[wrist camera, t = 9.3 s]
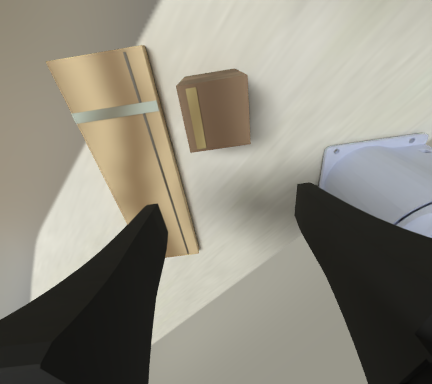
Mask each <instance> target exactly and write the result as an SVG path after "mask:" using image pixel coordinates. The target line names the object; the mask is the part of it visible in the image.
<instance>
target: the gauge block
mask: <svg viewBox="0 0 432 384" xmlns="http://www.w3.org/2000/svg"><path fill="white" fill-rule="evenodd" d="M176 89H177V93H178V98H179V102H180V107H181V111H182V116H183V120H184V125H185V130H186V134H187V139H188V143H189V148H190V152H191V153H192V152H199V151H206V150H213V149H219V148H226V147H233V146H240V145H247V144H251V142H250V121H249V99H248V78H247V75H246V74H244V73H242V72H240V71H239V70H237V69H230V70H223V71H217V72H211V73H205V74H199V75H192V76H186V77H184V78H183V79H182V80H181V82H180V83H179V84H178V85H177V86H176Z"/></svg>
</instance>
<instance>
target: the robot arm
mask: <svg viewBox="0 0 432 384" xmlns="http://www.w3.org/2000/svg"><path fill="white" fill-rule="evenodd" d="M410 139H411V140H410ZM427 140H428V134H425V133H417V134H410V135H403V136H396V137H389V138H382V139H375V140H369V141H362V142H355V143H348V144H341V145H334V146H329V147H327V148H326V149H325V151H324V157H323V163H322V170H321V176H320V182H319V187H318V186H316V185H314V184H312V183H303V184H297V195H296V205H295V218H296V220H297V223H298V225H299V228H300V230H301V233H302V234H303V236H304V238H305V240H306V241H307V243H308V245H309V247H310V249H311V250H312V252H313V254H314V256H315V257H316V259H317V261H318V262H319V264H320V266H321V268H322V270H323V272H324V273H325V275H326V277H327V280H328V282H329V284H330V286H331V289H332V291H333V293H334V295H335V298H336V300H337V302H338V305H339V307H340V310H341V312H342V314H343V317H344V319H345V322H346V324H347V327H348V330H349V332H350V335H351V337H352V340H353V342H354V345H355V348H356V350H357V353H358V356H359V359H360V361H361V364H362V367H363V370H364V372H365V376H366V379H367V382H368V384H432V147H430V146H428V145H426V142H427ZM336 149H337V151H336V152H334V151H335V150H336ZM167 242H168V230H167V227H166V224H165V221H164V219H163V216H162V213H161V211H160V208H159V205H158V203H157V204H150V205H146V206H145V207H144V208H143V209H142V210H141V211H140V212H139V213H138V214H137V215H136V216H135V217H134V218H133V219H132V220H131V222H130V223H129V224H128V225H127V226H126V227H125V228H124V229H123V230H122V231H121V232H120V233H119V234H118V235H117V236H116V237H115V238H114V239H113V240H112V241H111V242H110V243H109V244H108V245H107V246H105V247H104V248H103V249H102V250H101V251H100V252H99V253H98V254H96V255H95V256H94V257H93V258H92V259H90V260H89V261H88V262H87V263H86V264H84V265H83V266H82V267H81V268H79V269H78V270H77V271H75V272H74V273H72V274H71V275H70V276H68V277H67V278H66V279H64V280H63V281H62V282H60V283H59V284H57V285H56V286H54V287H53V288H51V289H50V290H48V291H47V292H45V293H44V294H42V295H41V296H39V297H38V298H36V299H35V300H33V301H31V302H30V303H28V304H27V305H25V306H23V307H22V308H20V309H18V310H17V311H15V312H13V313H11V314H10V315H8V316H6V317H5V318H3V319H1V320H0V384H148V379H149V363H150V351H151V339H152V329H153V319H154V311H155V303H156V296H157V291H158V286H159V282H160V277H161V273H162V269H163V264H164V260H165V255H166V251H167Z"/></svg>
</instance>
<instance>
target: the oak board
mask: <svg viewBox="0 0 432 384" xmlns="http://www.w3.org/2000/svg"><path fill="white" fill-rule="evenodd" d="M46 63H47V65H48V67H49V69H50V71H51V73H52V75H53V77H54V79H55V81H56V83H57V85H58V87H59V89H60V91H61V93H62V95H63V97H64V99H65V101H66V103H67V105H68V107H69V109H70V111H71V113H72V117H73V119H74V120H75V123H76V124H77V125H78V127H79V129H80V131H81V133H82V135H83V137H84V139H85V141H86V143H87V145H88V147H89V149H90V151H91V153H92V155H93V157H94V159H95V161H96V163H97V165H98V167H99V169H100V171H101V173H102V175H103V177H104V179H105V181H106V183H107V185H108V187H109V189H110V191H111V193H112V195H113V197H114V199H115V201H116V203H117V205H118V207H119V209H120V211H121V213H122V215H123V217H124V219H125V221H126V223H127V225H128V224H129V223H130V222H131V220H132V219H133V218H134V217H135V216H136V215H137V214H138V213H139V212H140V211H141V210H142V209H143V208H144V207H145V206H146V205H150V204H157V203H158V205H159V208H160V211H161V213H162V216H163V219H164V221H165V224H166V227H167V230H168V242H167V251H166V255H165V258H166V257H174V256H182V255H190V254H198V253H199V246H198V242H197V238H196V235H195V231H194V227H193V223H192V220H191V216H190V212H189V208H188V205H187V201H186V197H185V194H184V190H183V186H182V182H181V179H180V175H179V171H178V167H177V164H176V160H175V156H174V153H173V149H172V145H171V141H170V138H169V134H168V130H167V126H166V123H165V119H164V115H163V112H162V108H161V104H160V100H159V97H158V93H157V89H156V85H155V82H154V78H153V74H152V71H151V67H150V63H149V59H148V56H147V52H146V48H145V46H143V45H140V46H134V47H128V48H122V49H117V50H111V51H105V52H99V53H93V54H88V55H82V56H75V57H70V58H64V59H58V60H52V61H46Z"/></svg>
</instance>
